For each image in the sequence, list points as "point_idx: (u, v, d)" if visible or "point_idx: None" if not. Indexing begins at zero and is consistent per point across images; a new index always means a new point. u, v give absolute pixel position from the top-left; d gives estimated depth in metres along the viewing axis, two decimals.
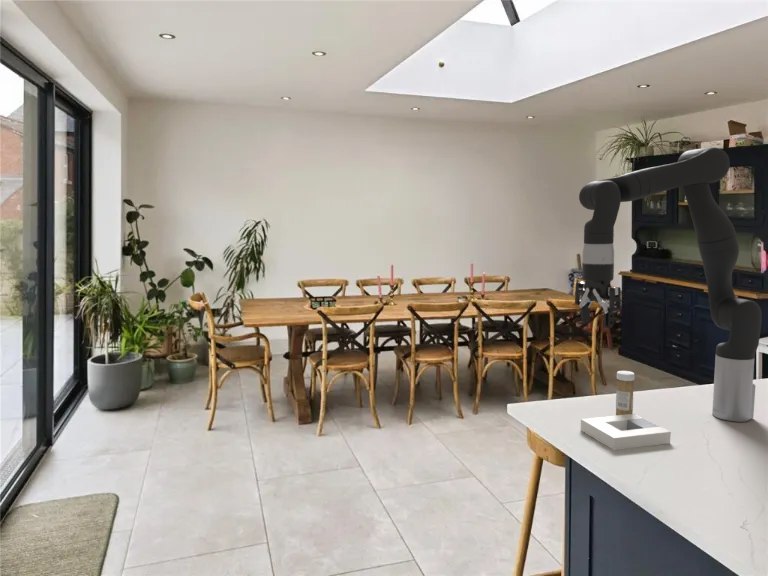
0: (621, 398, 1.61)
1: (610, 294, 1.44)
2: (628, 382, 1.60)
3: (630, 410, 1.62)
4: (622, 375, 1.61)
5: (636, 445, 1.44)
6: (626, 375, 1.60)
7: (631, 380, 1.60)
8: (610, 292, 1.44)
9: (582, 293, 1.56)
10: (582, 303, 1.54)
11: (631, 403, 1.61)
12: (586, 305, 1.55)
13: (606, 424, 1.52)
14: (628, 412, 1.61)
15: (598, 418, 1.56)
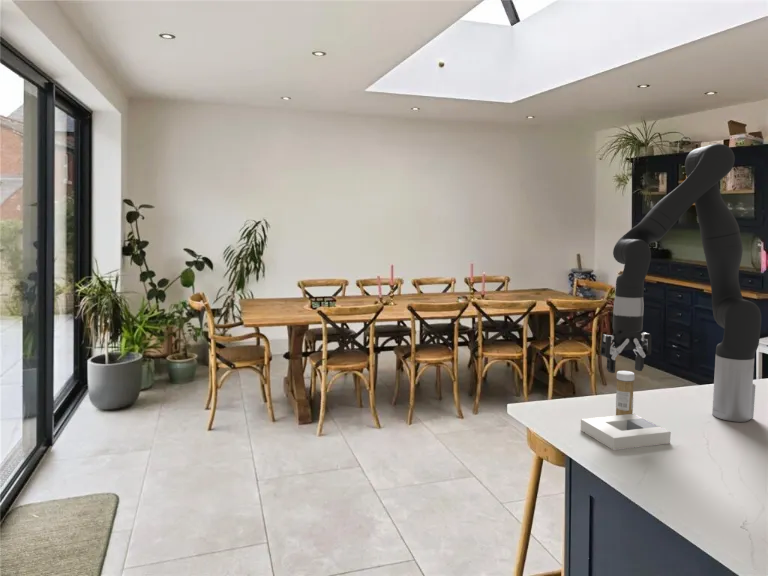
0: (621, 398, 1.61)
1: (649, 340, 1.62)
2: (628, 382, 1.60)
3: (630, 410, 1.62)
4: (622, 375, 1.61)
5: (636, 445, 1.44)
6: (626, 375, 1.60)
7: (631, 380, 1.60)
8: (649, 338, 1.62)
9: None
10: (615, 354, 1.60)
11: (631, 403, 1.61)
12: None
13: (606, 424, 1.52)
14: (628, 412, 1.61)
15: (598, 418, 1.56)
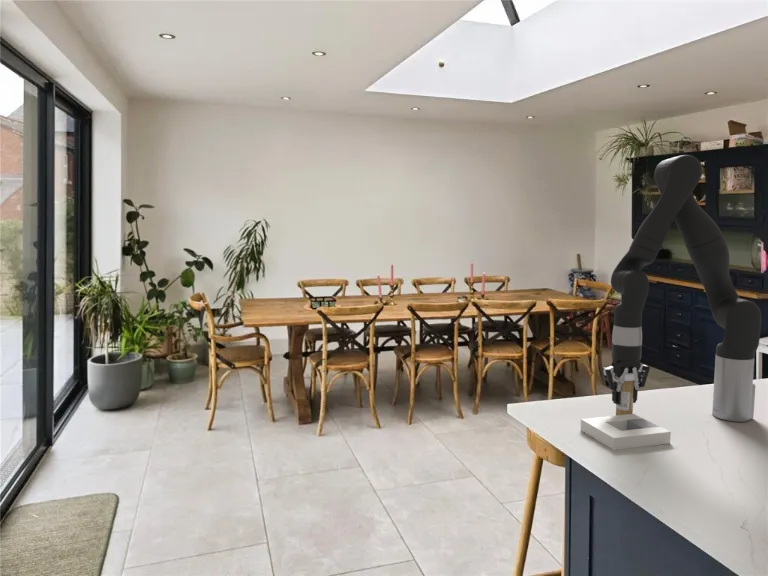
0: (622, 398, 1.61)
1: (646, 372, 1.63)
2: (628, 382, 1.60)
3: (630, 410, 1.62)
4: None
5: (636, 445, 1.44)
6: (626, 375, 1.60)
7: (631, 380, 1.60)
8: (646, 370, 1.63)
9: None
10: (620, 386, 1.61)
11: (631, 403, 1.61)
12: None
13: (606, 424, 1.52)
14: (628, 412, 1.61)
15: (598, 418, 1.56)
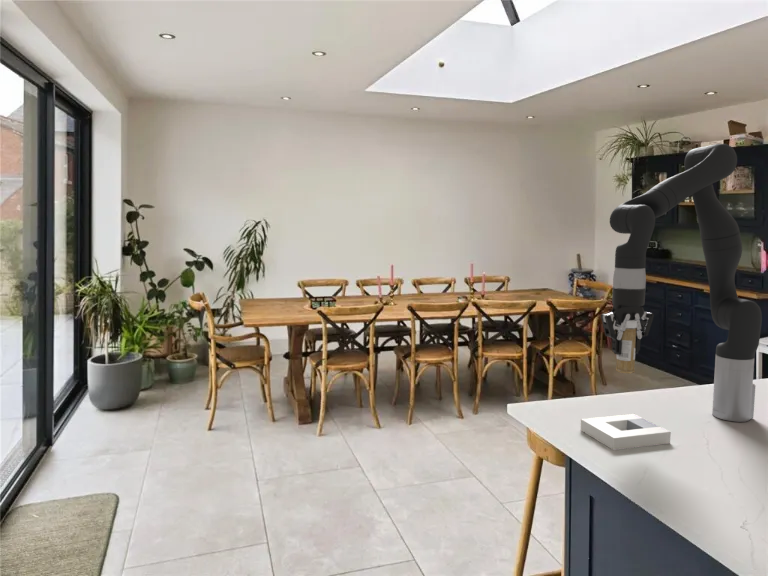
0: (623, 347, 1.48)
1: (650, 319, 1.49)
2: (630, 329, 1.47)
3: (632, 361, 1.48)
4: None
5: (636, 445, 1.44)
6: (628, 322, 1.46)
7: (633, 327, 1.47)
8: (650, 318, 1.49)
9: None
10: (621, 334, 1.47)
11: (633, 353, 1.48)
12: None
13: (606, 424, 1.52)
14: (630, 363, 1.48)
15: (598, 418, 1.56)
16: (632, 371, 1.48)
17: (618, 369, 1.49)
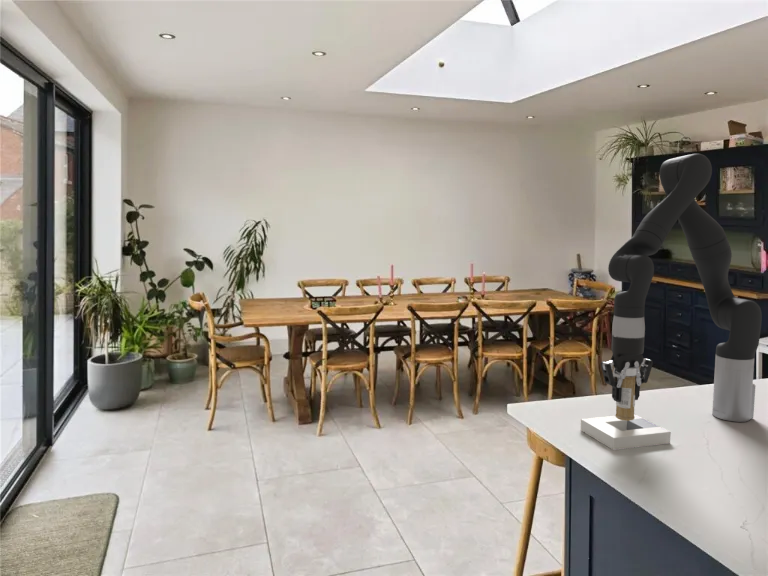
0: (622, 395, 1.48)
1: (649, 366, 1.49)
2: (629, 377, 1.47)
3: (632, 408, 1.49)
4: None
5: (636, 445, 1.44)
6: (627, 370, 1.47)
7: (633, 375, 1.47)
8: (649, 365, 1.49)
9: None
10: (621, 382, 1.48)
11: (633, 400, 1.48)
12: None
13: (606, 424, 1.52)
14: (629, 410, 1.48)
15: (598, 418, 1.56)
16: (632, 418, 1.49)
17: (618, 416, 1.50)
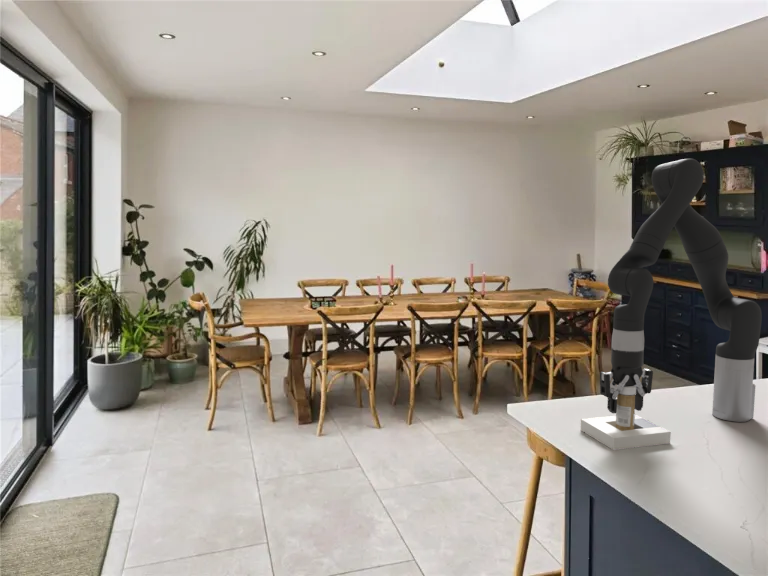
0: (622, 413, 1.49)
1: (649, 377, 1.50)
2: (629, 396, 1.48)
3: (631, 426, 1.49)
4: (623, 388, 1.48)
5: (636, 445, 1.44)
6: (627, 388, 1.48)
7: (632, 394, 1.48)
8: (650, 375, 1.50)
9: None
10: (616, 394, 1.48)
11: (632, 419, 1.49)
12: None
13: (606, 424, 1.52)
14: (629, 428, 1.49)
15: (598, 418, 1.56)
16: None
17: None
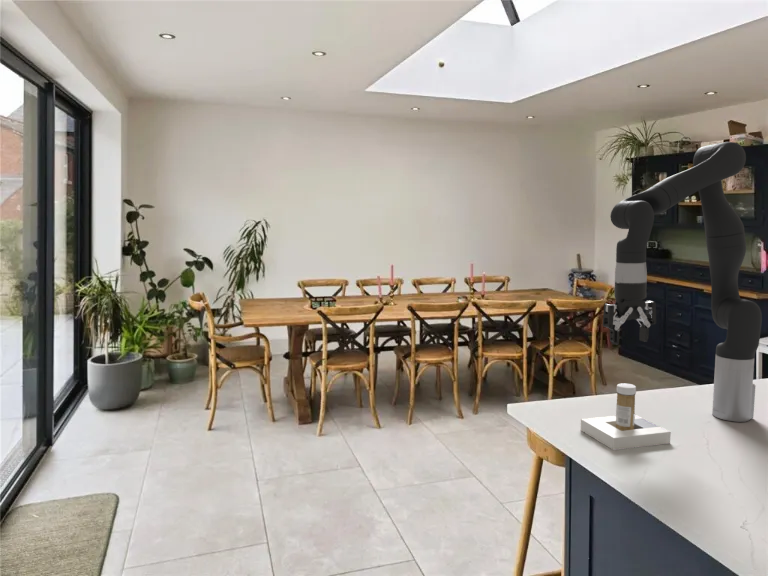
0: (622, 413, 1.49)
1: (653, 308, 1.52)
2: (629, 396, 1.48)
3: (631, 426, 1.49)
4: (623, 388, 1.48)
5: (636, 445, 1.44)
6: (627, 388, 1.48)
7: (632, 394, 1.48)
8: (653, 306, 1.52)
9: None
10: (618, 325, 1.50)
11: (632, 419, 1.49)
12: None
13: (606, 424, 1.52)
14: (629, 428, 1.49)
15: (598, 418, 1.56)
16: None
17: None
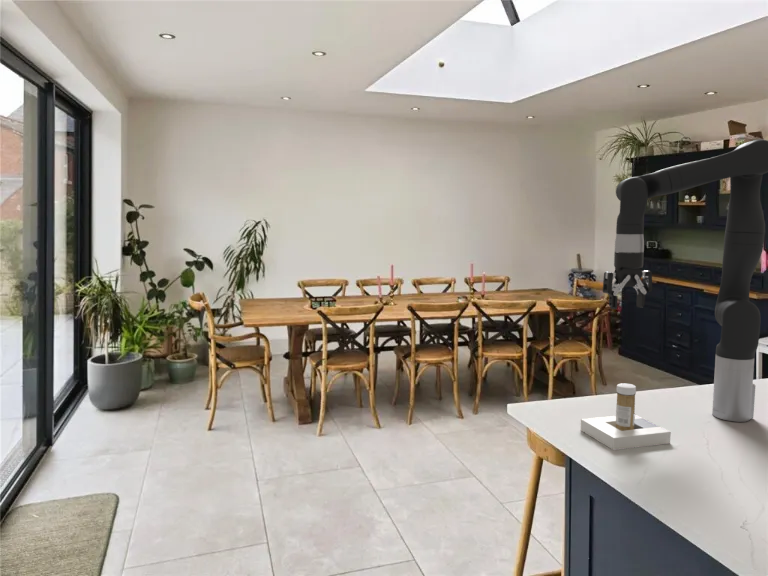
0: (622, 413, 1.49)
1: (649, 277, 1.66)
2: (629, 396, 1.48)
3: (631, 426, 1.49)
4: (623, 388, 1.48)
5: (636, 445, 1.44)
6: (627, 388, 1.48)
7: (632, 394, 1.48)
8: (649, 275, 1.66)
9: None
10: (617, 291, 1.64)
11: (632, 419, 1.49)
12: None
13: (606, 424, 1.52)
14: (629, 428, 1.49)
15: (598, 418, 1.56)
16: None
17: None
